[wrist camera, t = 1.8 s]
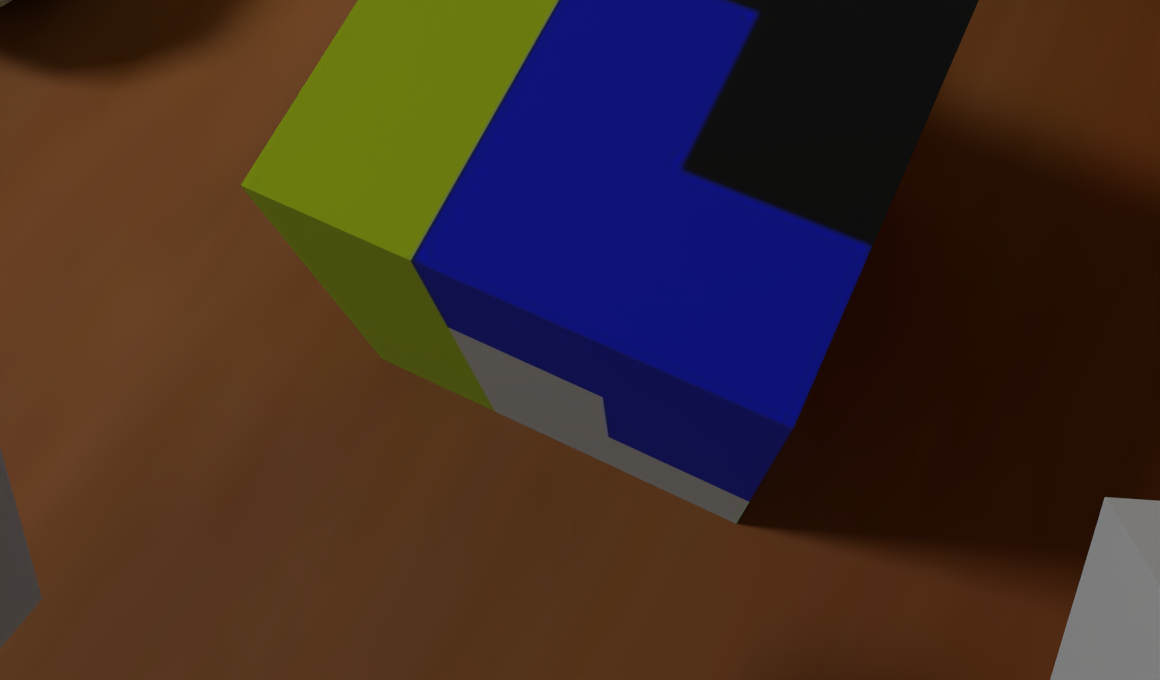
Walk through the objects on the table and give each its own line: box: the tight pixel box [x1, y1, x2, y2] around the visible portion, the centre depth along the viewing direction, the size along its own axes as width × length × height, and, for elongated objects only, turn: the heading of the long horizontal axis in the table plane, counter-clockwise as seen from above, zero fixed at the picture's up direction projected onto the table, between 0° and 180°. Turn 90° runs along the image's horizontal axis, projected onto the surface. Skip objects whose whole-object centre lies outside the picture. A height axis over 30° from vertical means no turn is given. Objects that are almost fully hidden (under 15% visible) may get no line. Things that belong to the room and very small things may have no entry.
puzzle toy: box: [241, 0, 978, 524], centre depth 22 cm, size 10×10×10 cm
